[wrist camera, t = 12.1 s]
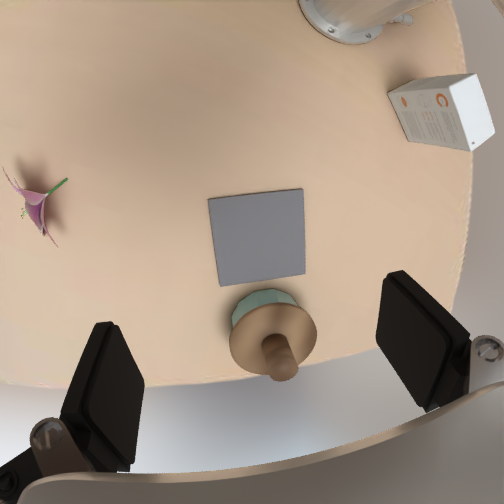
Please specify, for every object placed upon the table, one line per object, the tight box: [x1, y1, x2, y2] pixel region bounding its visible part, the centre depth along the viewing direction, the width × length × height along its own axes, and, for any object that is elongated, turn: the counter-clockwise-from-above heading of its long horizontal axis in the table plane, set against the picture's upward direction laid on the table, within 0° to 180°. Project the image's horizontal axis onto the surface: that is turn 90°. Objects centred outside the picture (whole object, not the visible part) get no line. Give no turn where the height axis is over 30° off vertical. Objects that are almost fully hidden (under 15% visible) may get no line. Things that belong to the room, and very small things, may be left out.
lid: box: [229, 302, 317, 381], centre depth 38 cm, size 12×12×6 cm
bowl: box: [231, 289, 298, 327], centre depth 43 cm, size 10×10×5 cm
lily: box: [2, 167, 68, 247], centre depth 30 cm, size 12×12×10 cm
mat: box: [208, 189, 305, 287], centre depth 40 cm, size 12×12×1 cm
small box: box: [387, 73, 495, 152], centre depth 30 cm, size 8×6×13 cm
